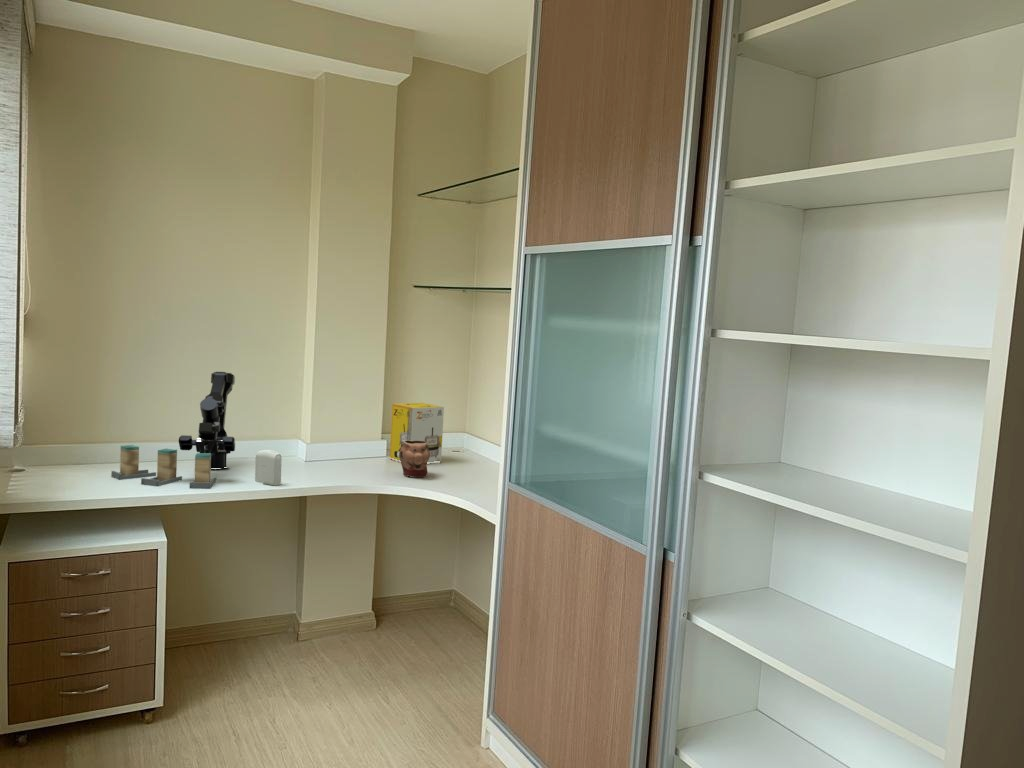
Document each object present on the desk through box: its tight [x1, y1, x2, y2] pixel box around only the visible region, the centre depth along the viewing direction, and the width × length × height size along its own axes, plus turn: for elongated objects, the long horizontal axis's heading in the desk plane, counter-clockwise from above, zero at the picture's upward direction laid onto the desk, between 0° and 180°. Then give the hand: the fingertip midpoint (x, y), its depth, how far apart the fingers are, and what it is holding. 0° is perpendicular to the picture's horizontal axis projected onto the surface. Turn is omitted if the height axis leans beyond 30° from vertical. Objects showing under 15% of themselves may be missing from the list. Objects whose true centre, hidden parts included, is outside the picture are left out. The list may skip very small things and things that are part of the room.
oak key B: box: [156, 448, 178, 481], centre depth 291 cm, size 4×4×11 cm
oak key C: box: [193, 452, 212, 482], centre depth 286 cm, size 4×4×11 cm
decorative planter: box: [399, 441, 430, 478], centre depth 330 cm, size 20×12×14 cm, turn 24°
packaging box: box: [389, 402, 445, 462], centre depth 360 cm, size 16×16×25 cm
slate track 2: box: [140, 475, 183, 487], centre depth 288 cm, size 13×7×2 cm, turn 166°
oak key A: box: [119, 444, 140, 476], centre depth 293 cm, size 4×4×11 cm
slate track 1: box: [111, 469, 157, 481], centre depth 295 cm, size 13×7×2 cm, turn 140°
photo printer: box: [254, 449, 283, 486], centre depth 298 cm, size 10×4×12 cm, turn 63°
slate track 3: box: [189, 477, 217, 490], centre depth 288 cm, size 13×7×2 cm, turn 12°
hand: (204, 462), depth 288 cm, fingers closed, pressing on oak key C
